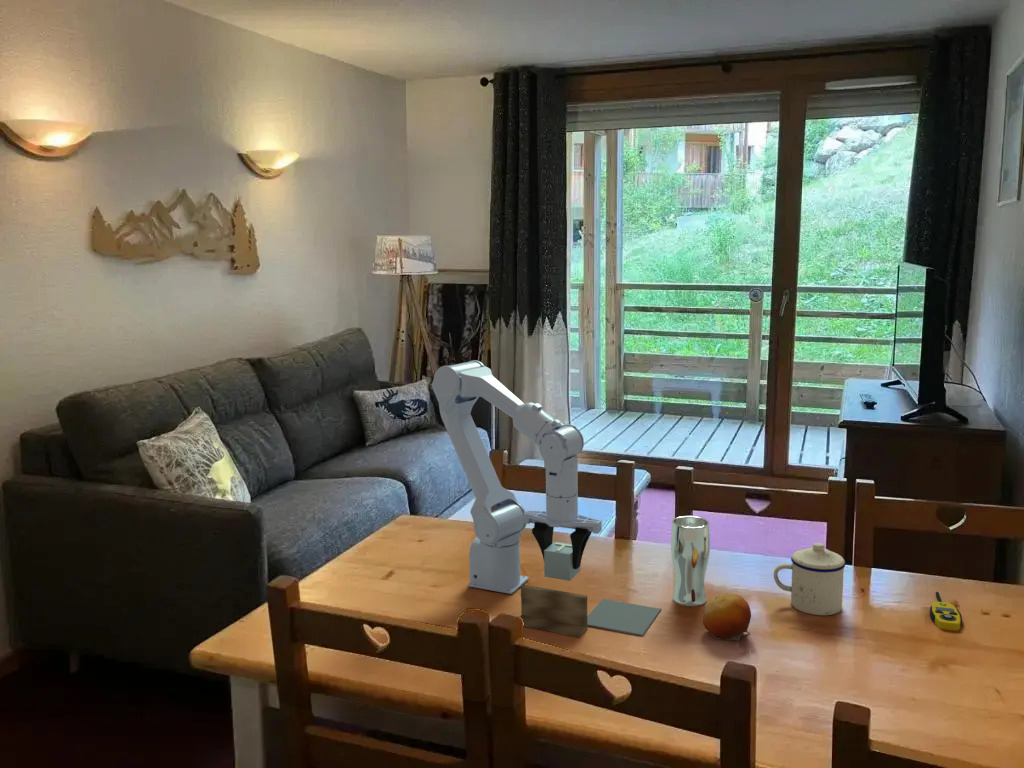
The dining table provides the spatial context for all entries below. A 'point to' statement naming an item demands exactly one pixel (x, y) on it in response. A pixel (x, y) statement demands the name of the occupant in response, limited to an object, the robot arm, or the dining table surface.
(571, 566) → the letter block
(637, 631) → the mat
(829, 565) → the teacup with lid
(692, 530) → the beer glass
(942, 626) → the yellow walkie talkie
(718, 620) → the fruit
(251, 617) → the dining table surface
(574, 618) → the screen
